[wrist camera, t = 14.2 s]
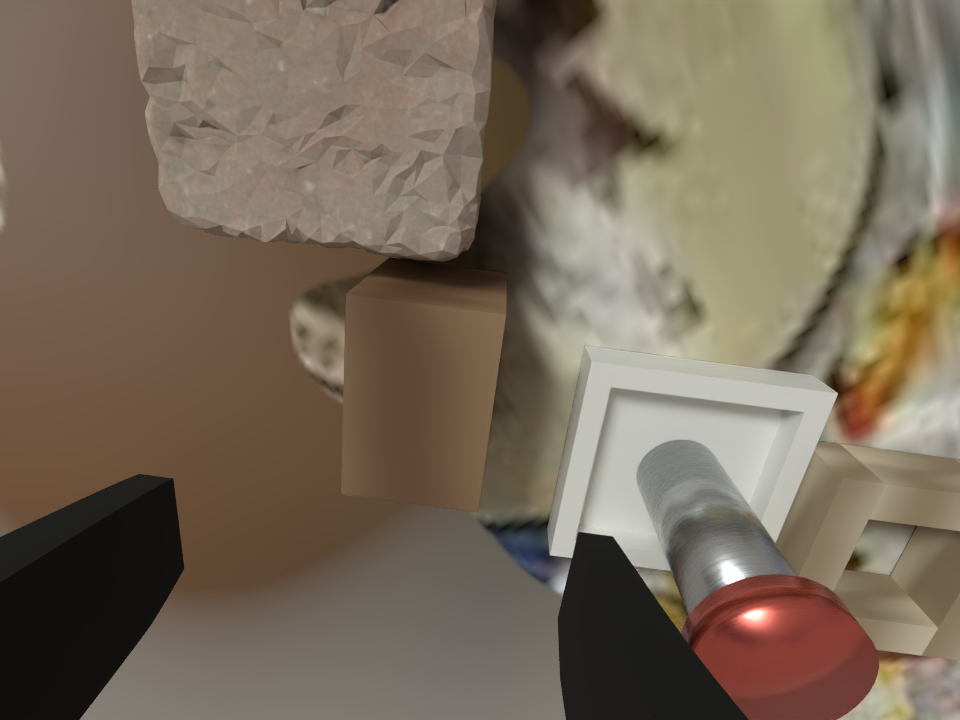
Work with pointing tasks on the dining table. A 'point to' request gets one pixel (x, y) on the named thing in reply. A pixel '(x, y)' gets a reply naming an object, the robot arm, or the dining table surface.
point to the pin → (751, 596)
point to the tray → (679, 416)
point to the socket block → (892, 498)
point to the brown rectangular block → (421, 382)
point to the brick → (321, 118)
